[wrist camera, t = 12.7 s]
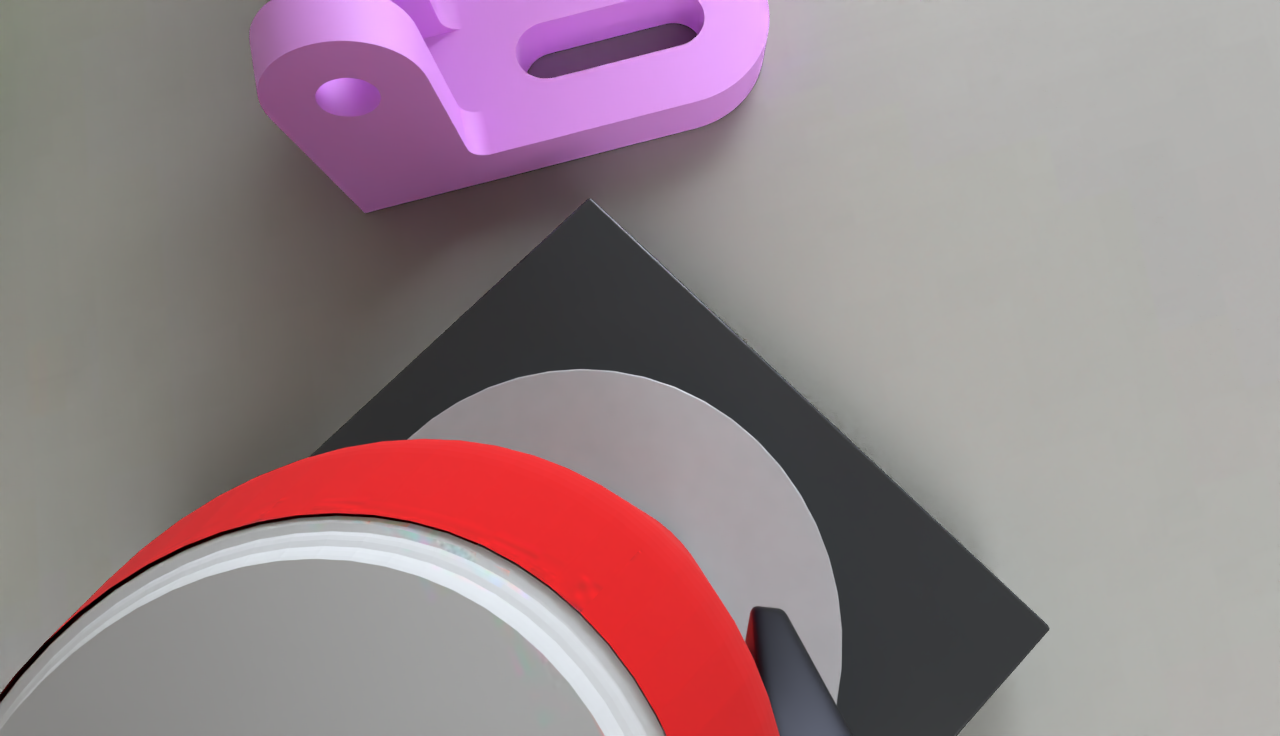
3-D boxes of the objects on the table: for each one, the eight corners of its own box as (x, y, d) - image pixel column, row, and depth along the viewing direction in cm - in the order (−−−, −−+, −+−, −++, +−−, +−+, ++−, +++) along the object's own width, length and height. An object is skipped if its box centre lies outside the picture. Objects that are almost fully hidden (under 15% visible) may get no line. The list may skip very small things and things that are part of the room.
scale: (1007, 615, 18) (1072, 634, 15) (580, 1097, 16) (559, 1223, 13) (598, 229, 21) (586, 181, 18) (195, 605, 19) (108, 621, 16)
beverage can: (772, 695, 15) (1104, 1255, 3) (515, 855, 15) (-115, 2123, 3) (629, 446, 16) (513, 232, 5) (389, 585, 16) (-388, 729, 4)
